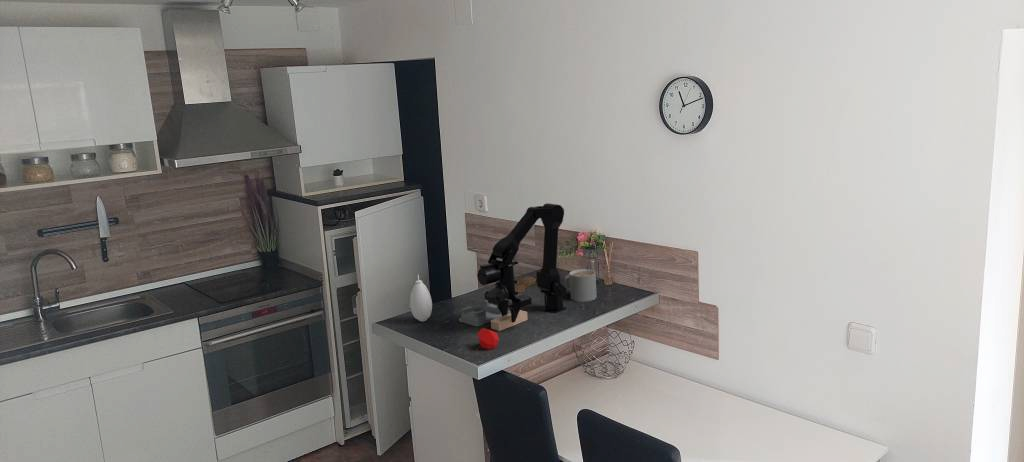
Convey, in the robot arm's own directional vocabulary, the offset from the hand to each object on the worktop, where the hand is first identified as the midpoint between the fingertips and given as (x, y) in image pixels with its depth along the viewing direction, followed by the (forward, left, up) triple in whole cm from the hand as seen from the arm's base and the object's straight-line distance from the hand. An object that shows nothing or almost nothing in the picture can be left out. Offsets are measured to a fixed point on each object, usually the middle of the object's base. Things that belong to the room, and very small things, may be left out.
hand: (509, 320), depth 260 cm
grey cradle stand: (+13, 0, -1) cm, 13 cm away
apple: (-10, +19, -2) cm, 22 cm away
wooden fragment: (+32, -37, -2) cm, 49 cm away
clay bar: (0, 0, -1) cm, 1 cm away
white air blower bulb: (+30, +16, -2) cm, 34 cm away
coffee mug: (0, -38, -2) cm, 38 cm away
